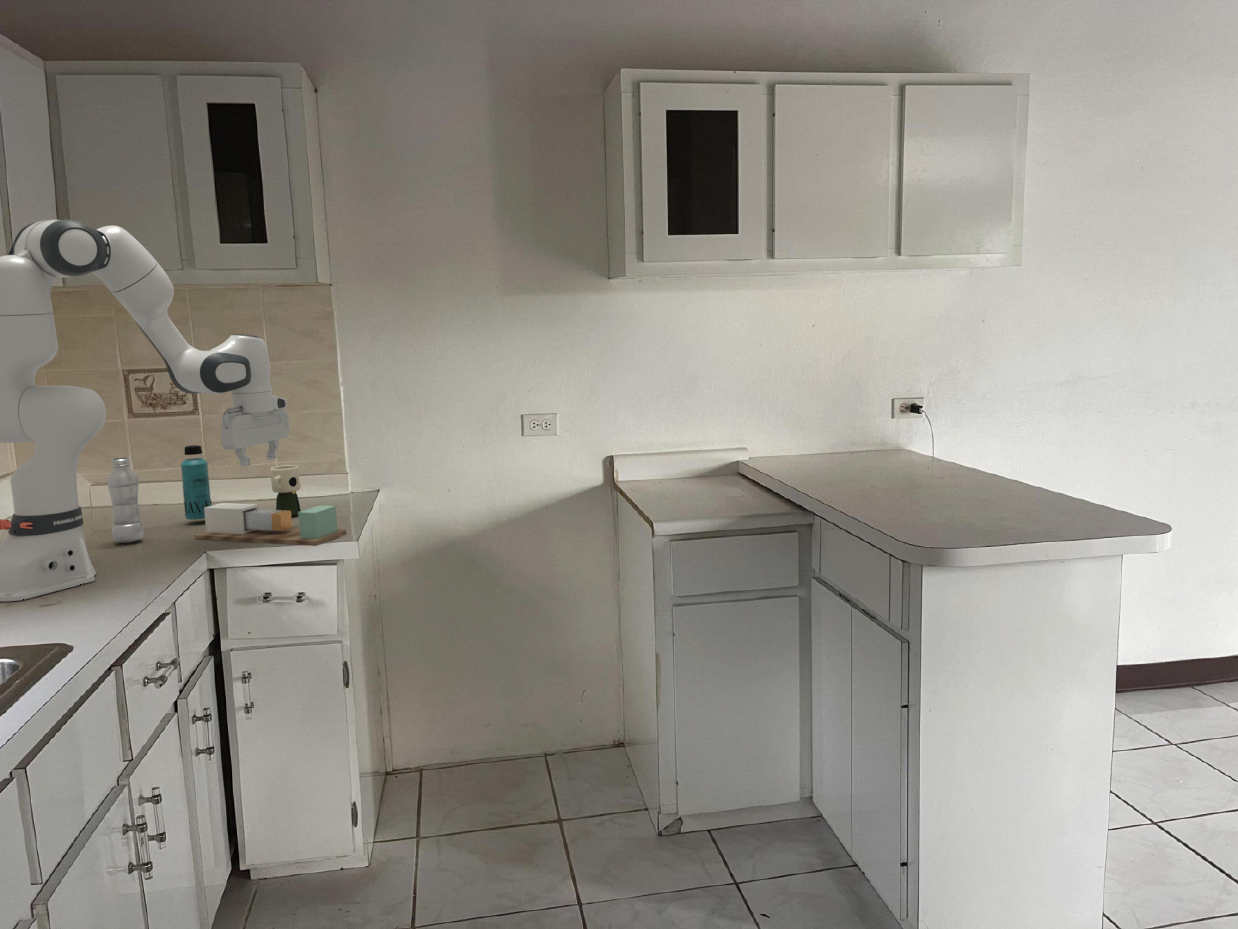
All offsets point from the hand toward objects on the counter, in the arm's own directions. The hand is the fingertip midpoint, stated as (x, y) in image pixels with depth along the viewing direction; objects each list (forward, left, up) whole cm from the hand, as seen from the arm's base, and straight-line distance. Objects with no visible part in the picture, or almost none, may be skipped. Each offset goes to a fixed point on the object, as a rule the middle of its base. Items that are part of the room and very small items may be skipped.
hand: (258, 462), depth 222 cm
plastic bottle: (-12, +28, -18) cm, 36 cm away
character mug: (+22, +9, -18) cm, 30 cm away
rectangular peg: (0, +3, -16) cm, 16 cm away
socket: (0, -15, -17) cm, 23 cm away
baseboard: (0, -2, -18) cm, 18 cm away
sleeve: (0, +8, -17) cm, 19 cm away
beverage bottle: (+10, +27, -18) cm, 34 cm away
